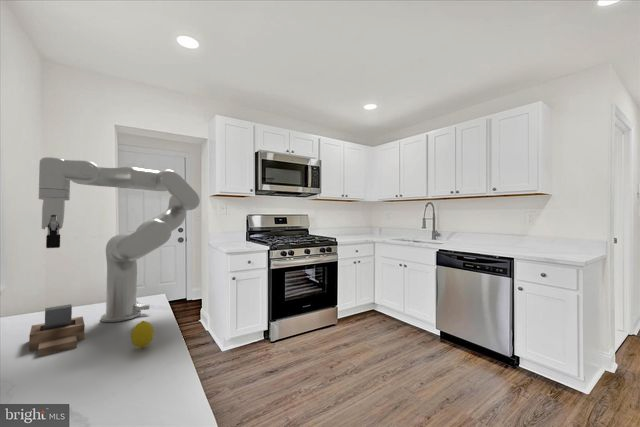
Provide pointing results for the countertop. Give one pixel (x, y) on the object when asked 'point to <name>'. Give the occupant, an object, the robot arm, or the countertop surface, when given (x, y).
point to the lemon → (142, 334)
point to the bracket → (58, 316)
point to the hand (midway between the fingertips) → (53, 246)
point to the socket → (56, 337)
